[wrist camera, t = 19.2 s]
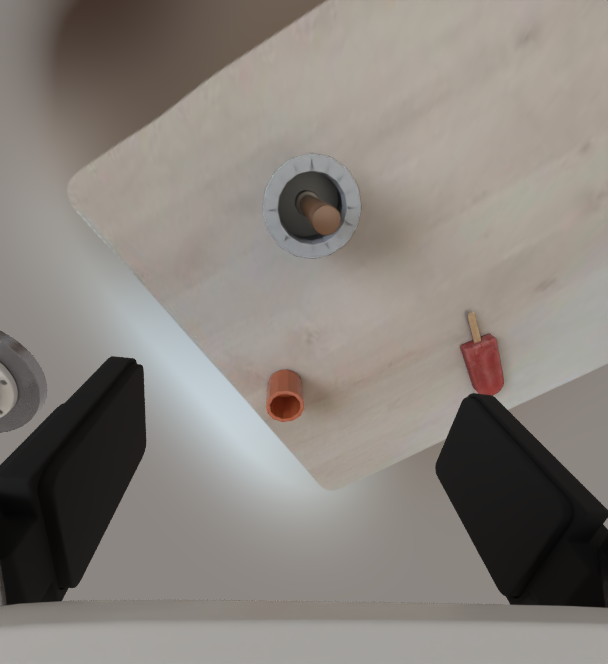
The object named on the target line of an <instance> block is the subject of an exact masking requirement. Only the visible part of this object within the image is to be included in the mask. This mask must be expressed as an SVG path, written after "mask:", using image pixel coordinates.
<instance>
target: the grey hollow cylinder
mask: <svg viewBox="0 0 608 664" xmlns="http://www.w3.org/2000/svg"><path fill="white" fill-rule="evenodd" d="M303 190H309V191H312V192H314V193H316V194H317V195H318V197H319V199H320V200H321V201H323V202H325V203H327V204H330V205H332V206H333V207H335V208H336V209H337V210H338V211H339V213H340V216H341V223H340V226H339V228H338V229H337V231H336V232H334V233H333V234H331V235H321V234H319V233H318V232H317V231H316V230H315V229H314V228H313V226H312V225H311V223H310V222H309V220H308V219H307V217H304V216H302V215H301V214H300V213H299V212H298V210H297V209H296V206H295V198H296V196H297V194H298V193H299V192H300V191H303ZM360 213H361V200H360V193H359V188H358V185H357V184H356V182H355V180H354V178H353V177H352V175H351V173H350V171H349V170H348V169H347V168H346V167H344V166H343V165H342V164H340V163H339V162H338V161H336V160H335V159H334V158H332V157H329V156H324V155H319V154H314V153H310V154H306V155H302V156H298V157H294V158H291V159H290V160H289V161H287V162H286V163H285V164H284V165H282V166H281V167H280V168H279V169H277V170H276V172H274V174H273V176H272V178H271V180H270V182H269V184H268V185H267V187H266V189H265V195H264V203H263V214H264V218H265V222H266V226H267V229H268V232H269V233H270V234H271V236H272V237H273V238H274V240H275V241H276V242H277V244H278V245H279V246H280V247H281V248H283V249H285V250H286V251H288V252H289V253H291V254H293V255H294V256H298V257H304V258H310V259H315V258H319V257H323V256H328V255H331V254H333V253H334V252H335V251H337V250H338V249H340V248H341V247H342V246H344V245H345V244H346V243H347V242H348V241H349V239H350V237H351V236H352V234H353V233H354V231H355V230H356V228H357V226H358V221H359V217H360Z"/></svg>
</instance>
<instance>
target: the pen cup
mask: <svg viewBox="0 0 608 664" xmlns="http://www.w3.org/2000/svg"><path fill="white" fill-rule="evenodd" d="M266 407H267V412H268V414H269V415H270V416H271V417H272V418H273V419H275V420H278V421H281V422H286V421H293V420H294V419H296V418H298V417H299V416H300V415H301V413H302V412H303V410H304V401H303V391H302V381H301V379H300V377H299V375H298V374H296V373H295V372H293V371H290V370H280V371H277V372H275V373H274V374H273V375H272V376H271V377H270V379H269V382H268V386H267V400H266Z"/></svg>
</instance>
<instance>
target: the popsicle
mask: <svg viewBox="0 0 608 664" xmlns="http://www.w3.org/2000/svg"><path fill="white" fill-rule="evenodd" d="M468 321H469V325H470V328H471V332H472V336H473V341H470V342H468V343H466V344H463V345H461V347H460V348H461V351H462V354H463V357H464V360H465V364H466V367H467V370H468V373H469V376H470V379H471V382H472V385H473V387H474V389H475V390H476V391H477V392H478V393H479V394H485V395H494V394H496V393H498V392H499V391H500V390H501V389H502V387H503V384H504V378H503V373H502V367H501V362H500V357H499V351H498V346H497V340H496V338H494V337H493V336H492V335H490V334H487V335H485V336H482V337H480V333H479V329H478V325H477V321H476V317H475V314H474V313H473V312H471V313H469V314H468Z"/></svg>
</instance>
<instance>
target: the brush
mask: <svg viewBox="0 0 608 664" xmlns="http://www.w3.org/2000/svg"><path fill="white" fill-rule="evenodd" d="M295 206H296V209H297V210H298V212H299V213H300V214H301V215H302V216H304V217H307V219H308V220H309V222H310V223H311V225H312V226H313V228H314V229H315V230H316V231H317V232H318V233H319V234H321V235H331V234H333V233H334V232H336V231H337V229H338V228H339V226H340V223H341V216H340V213H339V211H338V210H337V209H336V208H335V207H333V206H332V205H330V204H327V203H325V202H323V201H321V200H320V199H319V197H318V195H317V194H316V193H314V192H312V191H309V190H303V191H300V192H299V193H298V194H297V196H296V198H295Z"/></svg>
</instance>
